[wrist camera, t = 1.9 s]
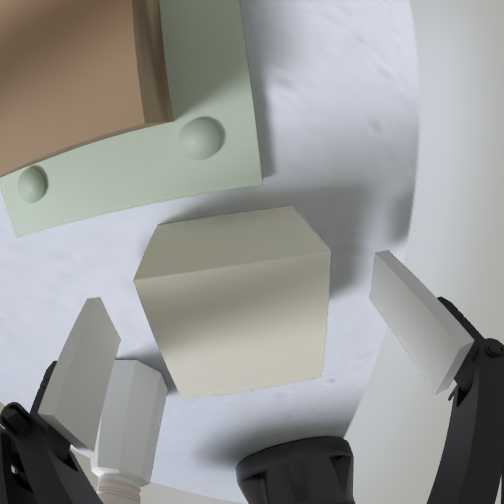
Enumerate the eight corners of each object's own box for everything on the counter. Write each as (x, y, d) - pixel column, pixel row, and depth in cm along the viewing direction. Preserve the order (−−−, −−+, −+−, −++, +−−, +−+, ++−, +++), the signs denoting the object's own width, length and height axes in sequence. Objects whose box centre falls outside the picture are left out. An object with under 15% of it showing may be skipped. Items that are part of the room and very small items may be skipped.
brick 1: (173, 121, 11) (145, 123, 6) (42, 161, 11) (-30, 191, 6) (158, -12, 8) (132, -72, 3) (29, 38, 8) (-37, 22, 3)
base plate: (259, 180, 14) (263, 186, 13) (24, 231, 13) (13, 240, 12) (227, -59, 8) (229, -71, 6) (-2, 22, 7) (-14, 19, 5)
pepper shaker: (182, 390, 20) (183, 523, 10) (131, 405, 20) (119, 520, 11) (137, 348, 18) (114, 502, 8) (87, 367, 18) (54, 494, 8)
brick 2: (295, 311, 18) (321, 376, 13) (185, 328, 17) (181, 398, 13) (291, 204, 15) (331, 250, 10) (157, 224, 14) (133, 280, 9)
